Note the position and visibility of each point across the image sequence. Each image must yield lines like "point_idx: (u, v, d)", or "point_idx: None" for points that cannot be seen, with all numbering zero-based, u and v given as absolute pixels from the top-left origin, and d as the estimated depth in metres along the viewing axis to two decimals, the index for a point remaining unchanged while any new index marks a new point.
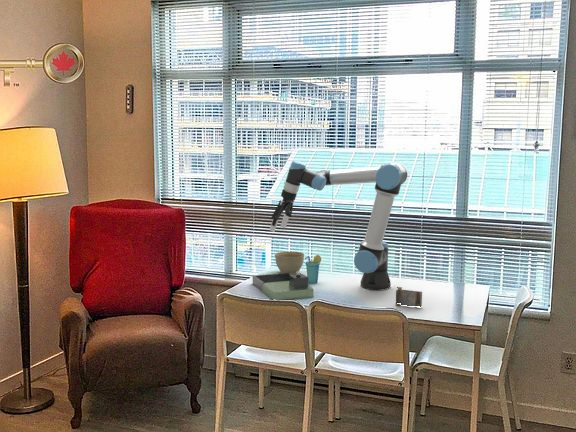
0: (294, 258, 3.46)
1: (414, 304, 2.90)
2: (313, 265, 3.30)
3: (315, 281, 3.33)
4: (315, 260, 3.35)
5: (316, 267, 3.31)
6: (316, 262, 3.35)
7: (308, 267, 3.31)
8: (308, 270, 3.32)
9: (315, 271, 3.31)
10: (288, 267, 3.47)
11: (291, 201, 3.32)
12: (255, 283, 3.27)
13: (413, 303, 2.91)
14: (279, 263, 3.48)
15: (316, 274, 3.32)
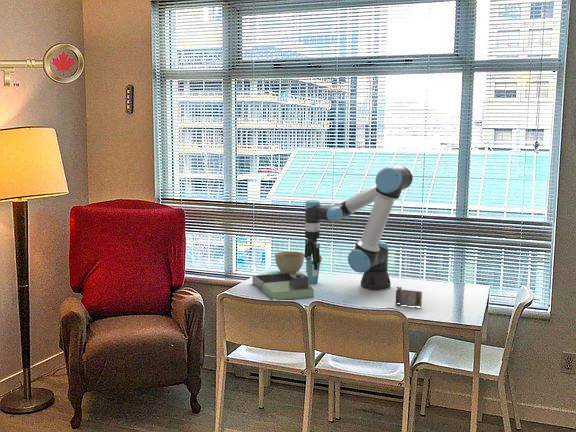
0: (294, 258, 3.46)
1: (414, 304, 2.90)
2: None
3: (315, 281, 3.33)
4: None
5: None
6: None
7: (308, 267, 3.31)
8: (308, 270, 3.32)
9: None
10: (288, 267, 3.47)
11: None
12: (255, 283, 3.27)
13: (413, 303, 2.91)
14: (279, 263, 3.48)
15: None
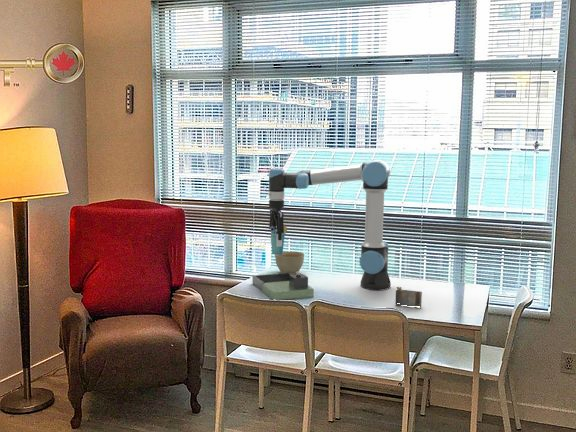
0: (294, 258, 3.46)
1: (414, 304, 2.90)
2: None
3: (280, 252, 3.23)
4: (280, 230, 3.25)
5: None
6: None
7: (273, 237, 3.22)
8: (273, 240, 3.22)
9: None
10: (288, 267, 3.47)
11: None
12: (255, 283, 3.27)
13: (413, 303, 2.91)
14: (279, 263, 3.48)
15: None
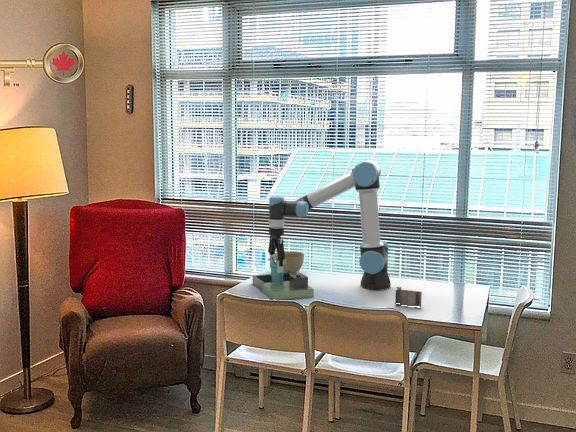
0: (294, 258, 3.46)
1: (414, 304, 2.90)
2: (277, 266, 3.23)
3: None
4: None
5: None
6: None
7: (272, 268, 3.25)
8: (272, 271, 3.25)
9: None
10: (288, 267, 3.47)
11: None
12: (255, 283, 3.27)
13: (413, 303, 2.91)
14: None
15: (280, 275, 3.25)
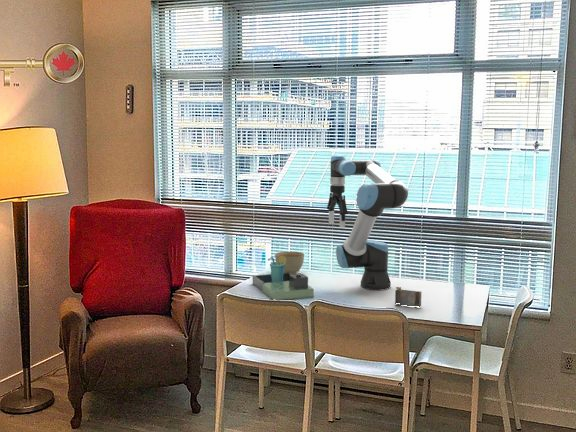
0: (294, 258, 3.46)
1: (413, 304, 2.91)
2: (277, 266, 3.23)
3: None
4: (280, 261, 3.28)
5: (280, 268, 3.24)
6: (281, 263, 3.28)
7: (272, 268, 3.25)
8: (272, 271, 3.25)
9: (279, 272, 3.24)
10: (288, 267, 3.47)
11: None
12: (255, 283, 3.27)
13: (412, 303, 2.91)
14: None
15: (280, 275, 3.25)
